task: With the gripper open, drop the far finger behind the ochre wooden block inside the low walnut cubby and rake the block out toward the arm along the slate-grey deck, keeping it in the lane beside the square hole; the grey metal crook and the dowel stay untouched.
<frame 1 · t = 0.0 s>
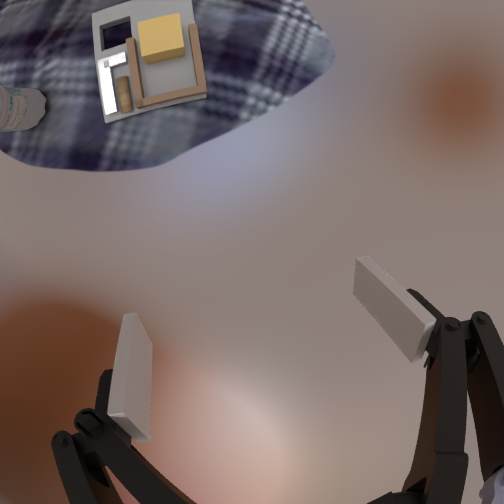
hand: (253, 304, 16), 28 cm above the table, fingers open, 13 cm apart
block: (163, 44, 28), point 2 cm above the table, touching cubby deck
bottle: (34, 108, 28), on the table
dowel: (125, 95, 30), point 2 cm above the table, touching cubby deck
cubby deck: (146, 52, 29), on the table
crook tool: (109, 86, 28), point 2 cm above the table, touching cubby deck
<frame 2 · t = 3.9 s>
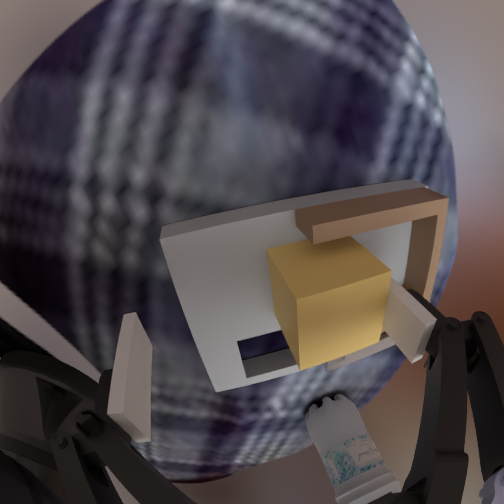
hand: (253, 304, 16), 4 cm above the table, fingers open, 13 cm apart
block: (308, 274, 18), point 2 cm above the table, touching gripper
bottle: (324, 404, 30), on the table
cubby deck: (310, 286, 21), on the table
crook tool: (362, 338, 22), point 2 cm above the table, touching cubby deck
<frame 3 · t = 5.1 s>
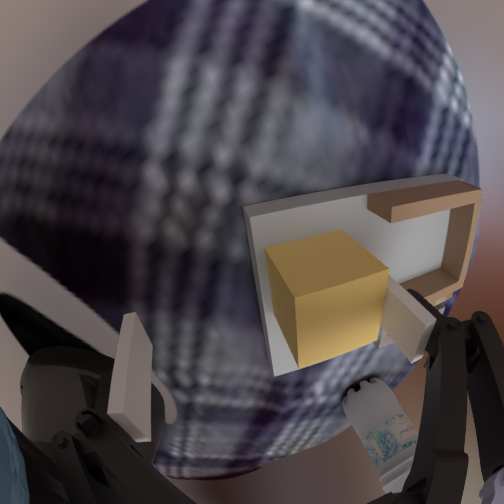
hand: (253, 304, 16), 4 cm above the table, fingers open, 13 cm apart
block: (307, 273, 18), point 2 cm above the table, touching cubby deck
bottle: (359, 388, 31), on the table
dowel: (424, 294, 22), point 2 cm above the table, touching cubby deck
cubby deck: (365, 268, 21), on the table
crook tool: (405, 317, 23), point 2 cm above the table, touching cubby deck
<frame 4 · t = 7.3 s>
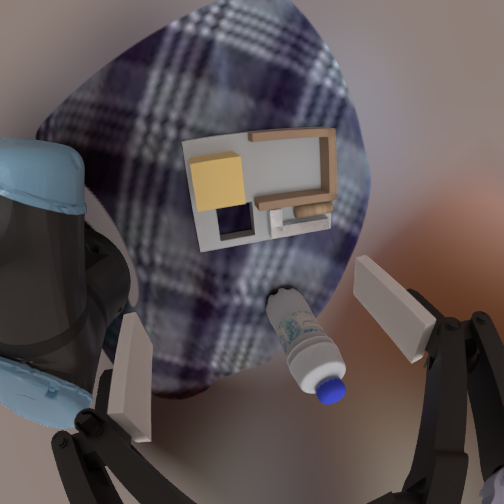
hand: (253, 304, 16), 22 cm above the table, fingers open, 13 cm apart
block: (213, 175, 32), point 2 cm above the table, touching cubby deck
bottle: (281, 299, 45), on the table
dowel: (310, 207, 36), point 2 cm above the table, touching cubby deck
cubby deck: (260, 184, 35), on the table
crook tool: (297, 224, 37), point 2 cm above the table, touching cubby deck
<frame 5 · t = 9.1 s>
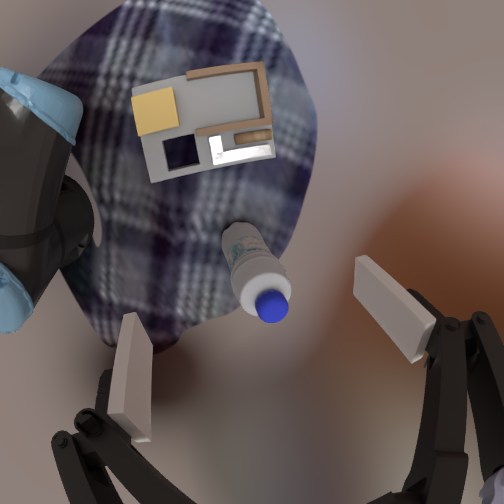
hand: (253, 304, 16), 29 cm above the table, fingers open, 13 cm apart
block: (158, 112, 32), point 2 cm above the table, touching cubby deck
bottle: (238, 236, 46), on the table
dowel: (252, 136, 37), point 2 cm above the table, tilted 5°, touching cubby deck
cubby deck: (204, 120, 36), on the table
crook tool: (240, 152, 38), point 2 cm above the table, touching cubby deck
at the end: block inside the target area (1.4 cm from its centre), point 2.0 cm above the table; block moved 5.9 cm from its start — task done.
